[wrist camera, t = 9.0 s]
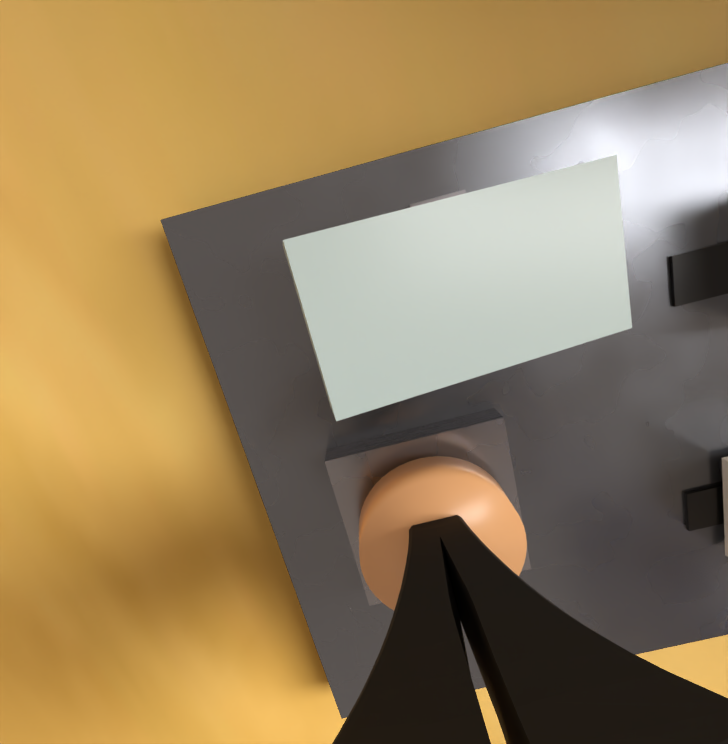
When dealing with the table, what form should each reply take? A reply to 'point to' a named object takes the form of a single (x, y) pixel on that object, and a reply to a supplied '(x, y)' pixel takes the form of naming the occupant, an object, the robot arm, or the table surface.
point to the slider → (725, 500)
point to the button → (433, 517)
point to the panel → (504, 381)
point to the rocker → (463, 285)
